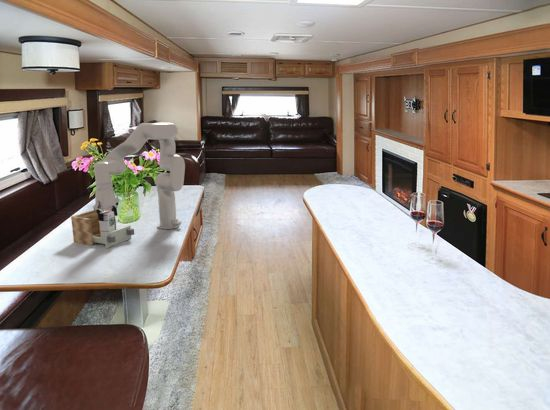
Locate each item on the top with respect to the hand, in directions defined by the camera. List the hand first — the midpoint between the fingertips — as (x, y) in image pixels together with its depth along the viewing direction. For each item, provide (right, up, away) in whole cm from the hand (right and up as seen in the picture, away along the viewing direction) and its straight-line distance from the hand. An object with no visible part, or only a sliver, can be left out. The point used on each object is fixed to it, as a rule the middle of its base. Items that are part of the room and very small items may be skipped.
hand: (108, 218), depth 263 cm
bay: (-10, -12, +9) cm, 18 cm away
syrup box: (0, -11, +2) cm, 11 cm away
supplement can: (-11, -6, +32) cm, 34 cm away
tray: (+1, -13, +4) cm, 13 cm away
